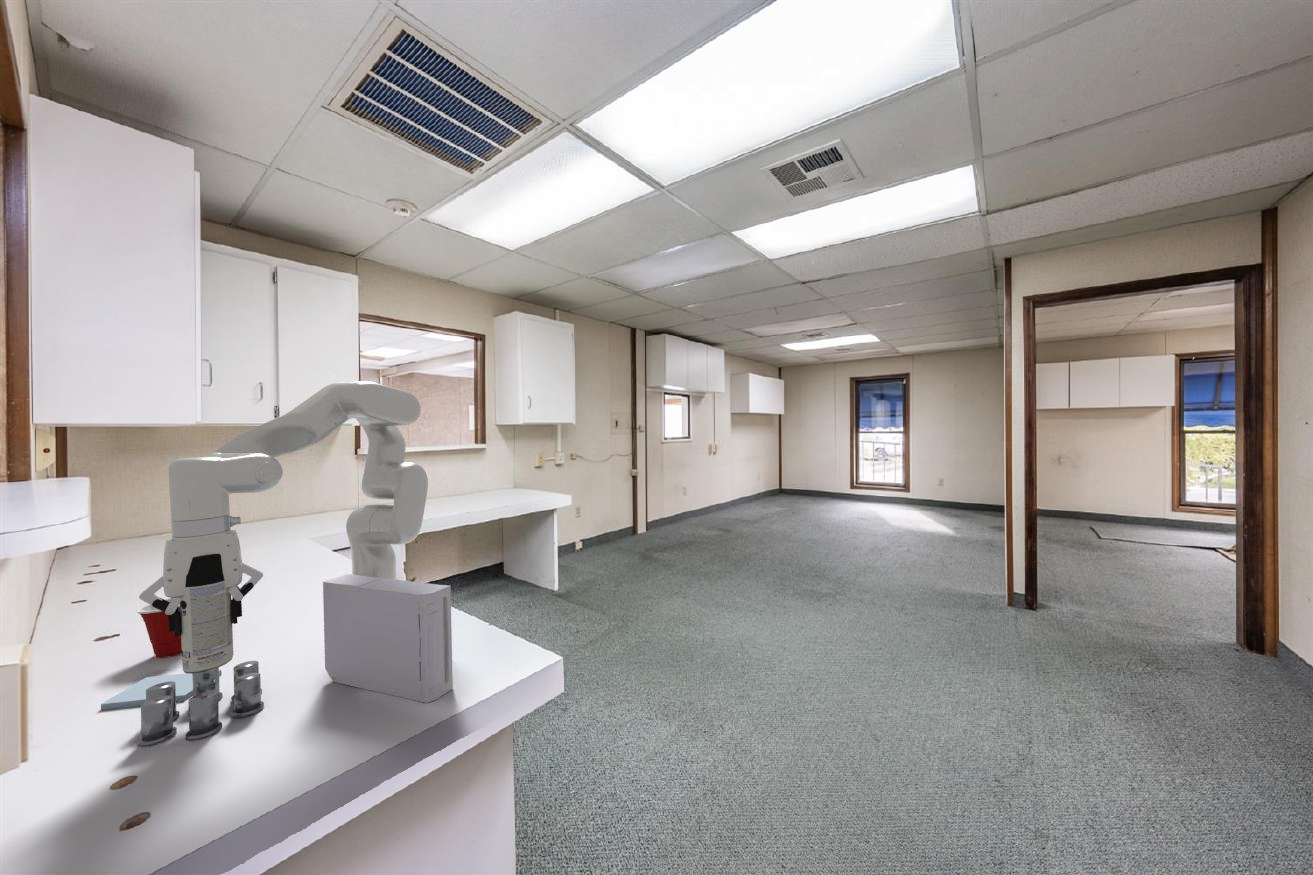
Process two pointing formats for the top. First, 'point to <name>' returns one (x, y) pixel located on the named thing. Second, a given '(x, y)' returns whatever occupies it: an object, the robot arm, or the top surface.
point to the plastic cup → (160, 632)
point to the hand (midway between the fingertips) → (207, 626)
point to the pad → (138, 691)
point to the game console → (389, 636)
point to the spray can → (206, 617)
